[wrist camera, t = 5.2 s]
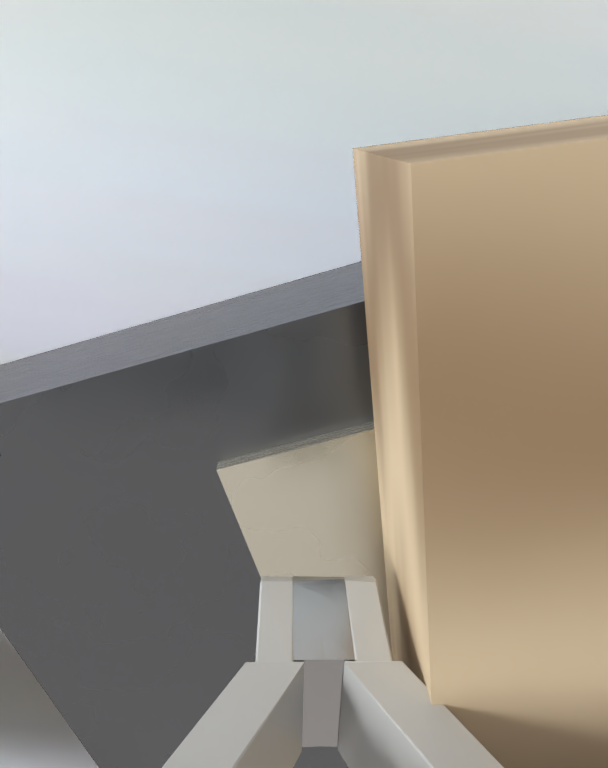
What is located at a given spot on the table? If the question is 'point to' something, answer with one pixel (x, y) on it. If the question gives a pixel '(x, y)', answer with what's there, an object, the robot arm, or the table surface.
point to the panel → (182, 503)
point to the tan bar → (495, 426)
